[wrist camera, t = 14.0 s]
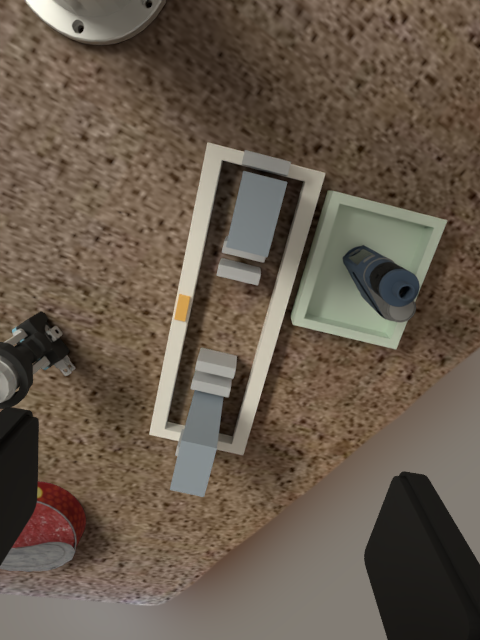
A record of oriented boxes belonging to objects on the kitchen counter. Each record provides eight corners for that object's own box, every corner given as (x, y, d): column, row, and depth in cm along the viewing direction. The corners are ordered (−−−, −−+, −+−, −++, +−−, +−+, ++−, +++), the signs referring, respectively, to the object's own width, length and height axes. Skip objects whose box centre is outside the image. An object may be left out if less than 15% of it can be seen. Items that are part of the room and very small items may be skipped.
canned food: (93, 469, 50) (108, 535, 42) (65, 533, 52) (74, 608, 44) (-11, 463, 44) (-17, 539, 36) (-39, 536, 46) (-50, 624, 38)
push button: (95, 355, 40) (47, 408, 31) (54, 380, 41) (-5, 439, 32) (51, 300, 39) (-14, 337, 29) (9, 327, 40) (-67, 373, 30)
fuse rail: (209, 143, 34) (192, 128, 24) (322, 173, 34) (350, 169, 25) (152, 426, 43) (124, 496, 33) (243, 446, 43) (241, 521, 34)
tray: (327, 190, 35) (333, 190, 32) (434, 217, 35) (447, 220, 33) (290, 316, 38) (292, 324, 36) (387, 339, 39) (396, 349, 37)
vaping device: (363, 237, 35) (417, 263, 24) (389, 288, 36) (452, 336, 25) (336, 253, 36) (377, 286, 24) (363, 303, 37) (413, 356, 26)
